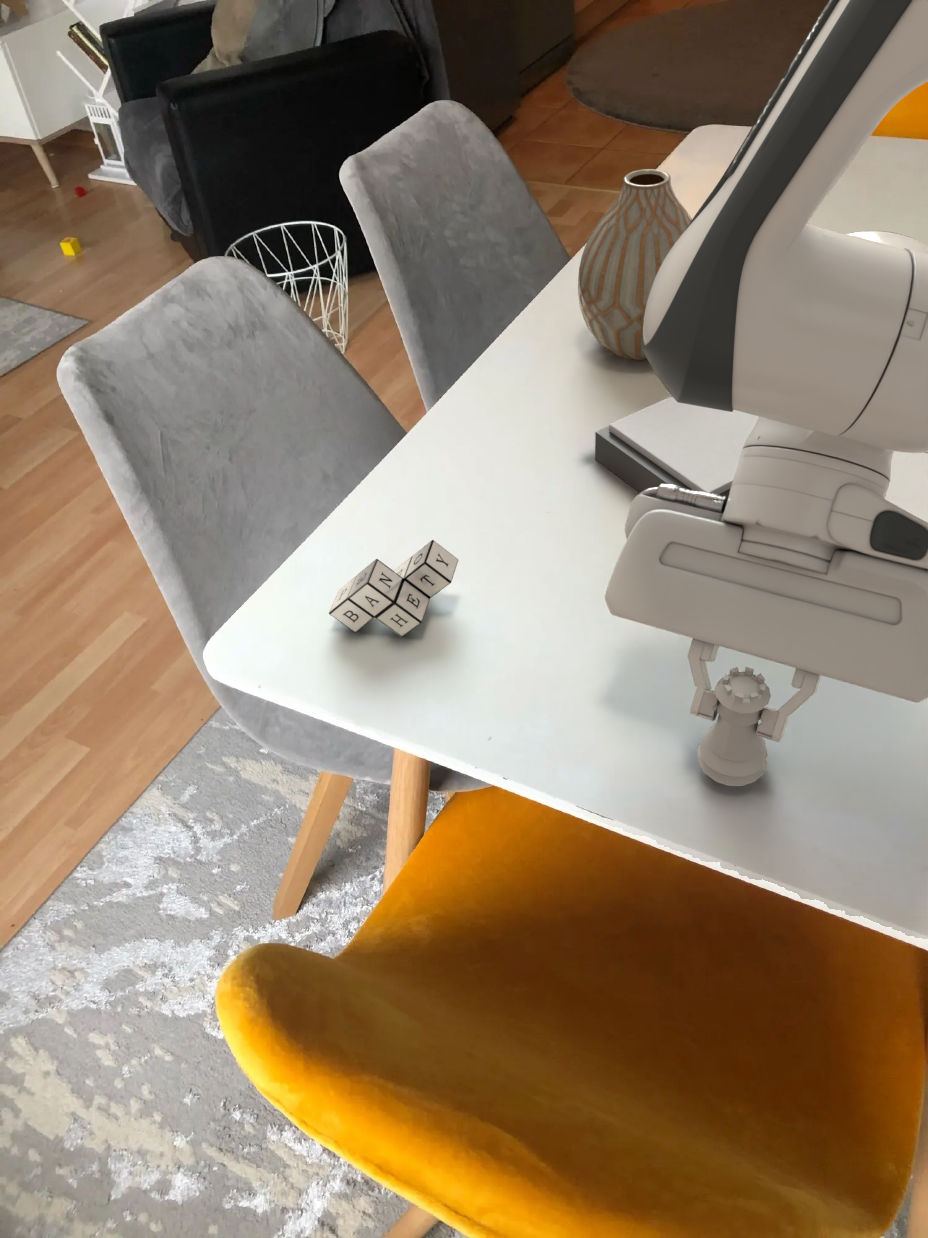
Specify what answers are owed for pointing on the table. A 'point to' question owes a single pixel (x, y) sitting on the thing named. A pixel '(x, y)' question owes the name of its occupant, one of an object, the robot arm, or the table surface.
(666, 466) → the kitchen scale
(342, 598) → the building blocks
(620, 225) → the vase
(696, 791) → the table surface
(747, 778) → the rook chess piece
